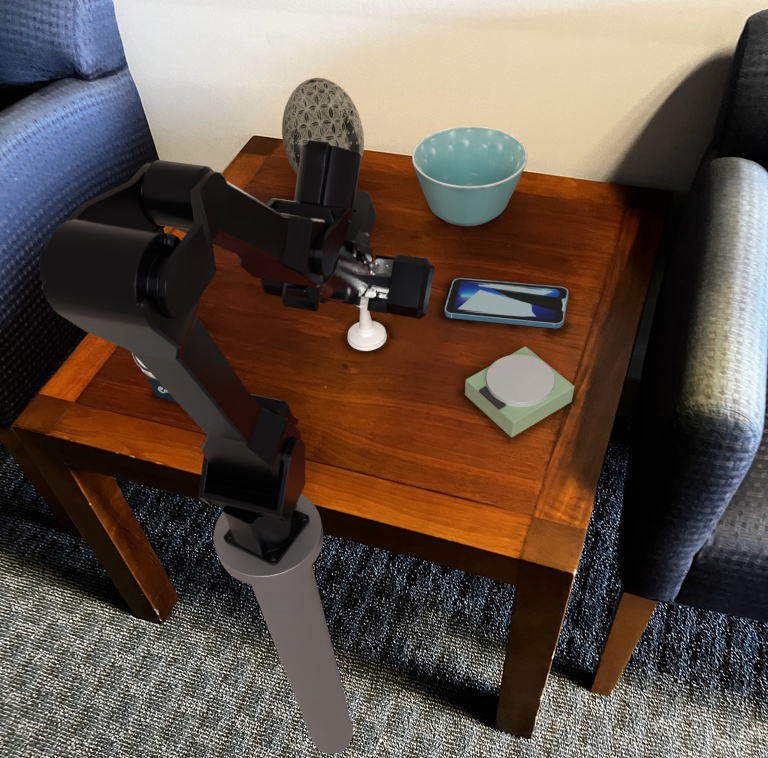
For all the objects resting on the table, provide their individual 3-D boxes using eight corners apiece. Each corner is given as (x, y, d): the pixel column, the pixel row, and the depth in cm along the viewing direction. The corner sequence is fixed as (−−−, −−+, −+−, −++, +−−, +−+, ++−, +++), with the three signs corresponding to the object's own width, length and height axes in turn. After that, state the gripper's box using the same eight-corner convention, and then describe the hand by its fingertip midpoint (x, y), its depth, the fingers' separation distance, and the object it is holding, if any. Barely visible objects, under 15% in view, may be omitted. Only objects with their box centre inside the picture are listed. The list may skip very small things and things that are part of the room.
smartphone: (453, 276, 101) (569, 287, 98) (453, 282, 102) (568, 293, 99) (442, 313, 97) (563, 325, 94) (442, 319, 98) (562, 331, 95)
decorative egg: (337, 213, 112) (325, 110, 100) (275, 191, 116) (256, 90, 104) (382, 174, 117) (375, 71, 105) (320, 154, 122) (307, 53, 109)
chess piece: (376, 319, 98) (370, 252, 90) (393, 342, 96) (389, 275, 87) (341, 332, 97) (332, 266, 89) (357, 356, 94) (350, 289, 86)
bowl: (451, 167, 117) (452, 113, 111) (542, 197, 112) (549, 142, 105) (391, 219, 111) (389, 165, 104) (485, 255, 105) (489, 199, 98)
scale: (511, 438, 85) (513, 417, 83) (464, 394, 90) (465, 374, 87) (571, 401, 88) (576, 381, 85) (523, 361, 92) (526, 340, 90)
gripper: (429, 193, 73) (455, 228, 88) (250, 171, 77) (304, 207, 92) (408, 312, 75) (437, 326, 90) (235, 284, 79) (290, 302, 94)
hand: (366, 287), depth 92 cm, fingers open, 4 cm apart
